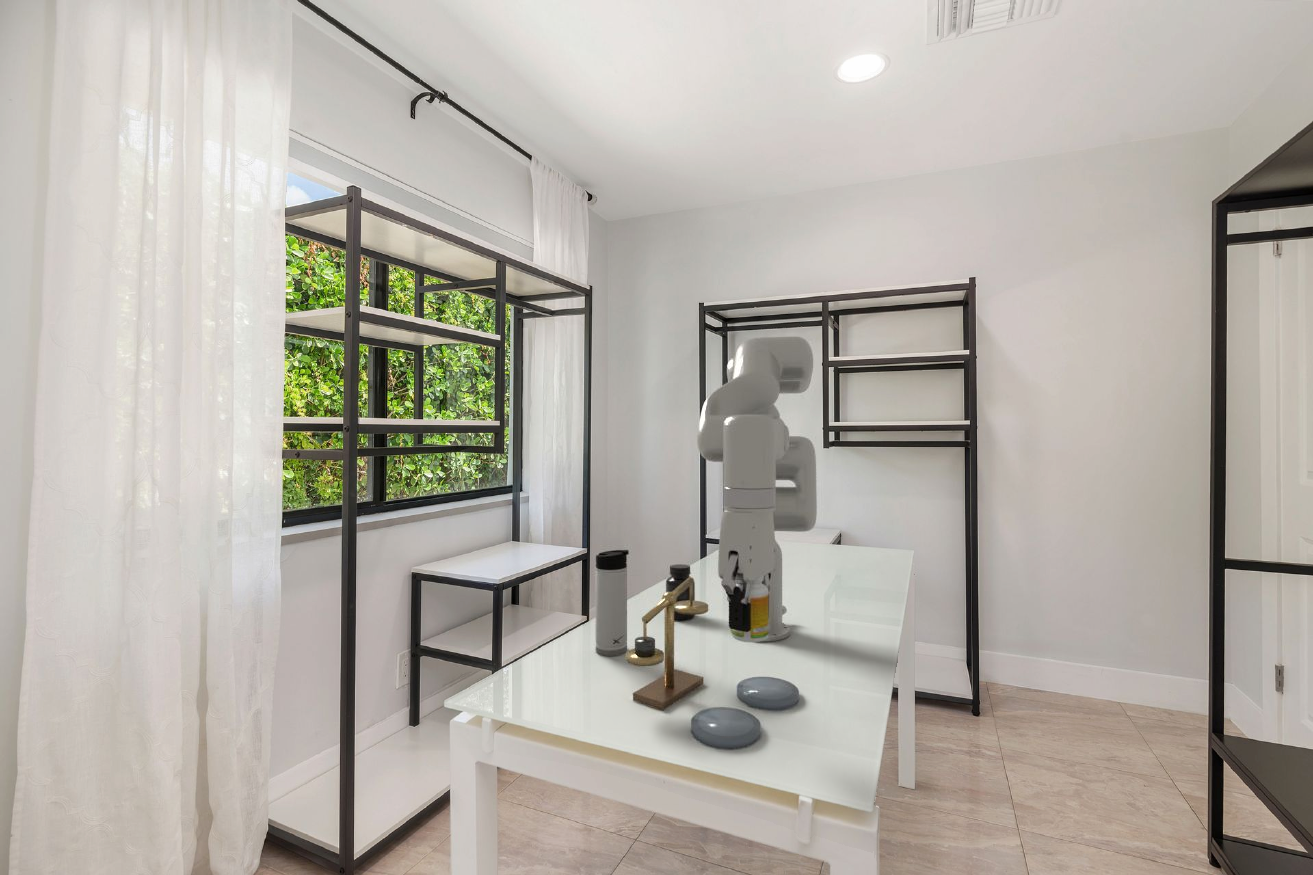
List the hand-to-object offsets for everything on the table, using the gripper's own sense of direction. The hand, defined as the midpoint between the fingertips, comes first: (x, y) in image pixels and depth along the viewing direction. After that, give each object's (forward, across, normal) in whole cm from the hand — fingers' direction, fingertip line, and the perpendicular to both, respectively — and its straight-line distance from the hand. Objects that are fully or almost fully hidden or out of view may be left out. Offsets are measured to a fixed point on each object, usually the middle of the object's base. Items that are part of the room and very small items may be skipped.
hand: (749, 622), depth 86 cm
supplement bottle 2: (+2, 0, 0) cm, 2 cm away
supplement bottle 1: (+16, -39, -36) cm, 56 cm away
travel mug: (+16, -13, -36) cm, 42 cm away
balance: (+15, -4, -16) cm, 23 cm away
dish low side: (+15, +2, -3) cm, 16 cm away
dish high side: (+15, -12, -2) cm, 19 cm away
